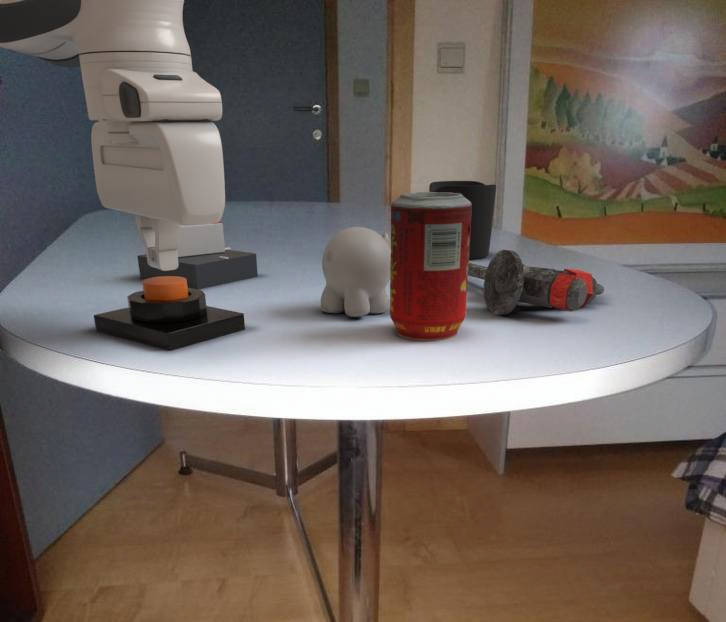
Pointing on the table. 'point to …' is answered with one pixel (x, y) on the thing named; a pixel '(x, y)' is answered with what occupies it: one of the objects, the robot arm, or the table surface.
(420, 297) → the soda can
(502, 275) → the valve
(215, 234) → the selector knob
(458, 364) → the table surface
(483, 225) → the pen holder
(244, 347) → the table surface
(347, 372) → the table surface
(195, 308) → the control block
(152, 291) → the button
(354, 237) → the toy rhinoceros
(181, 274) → the block
